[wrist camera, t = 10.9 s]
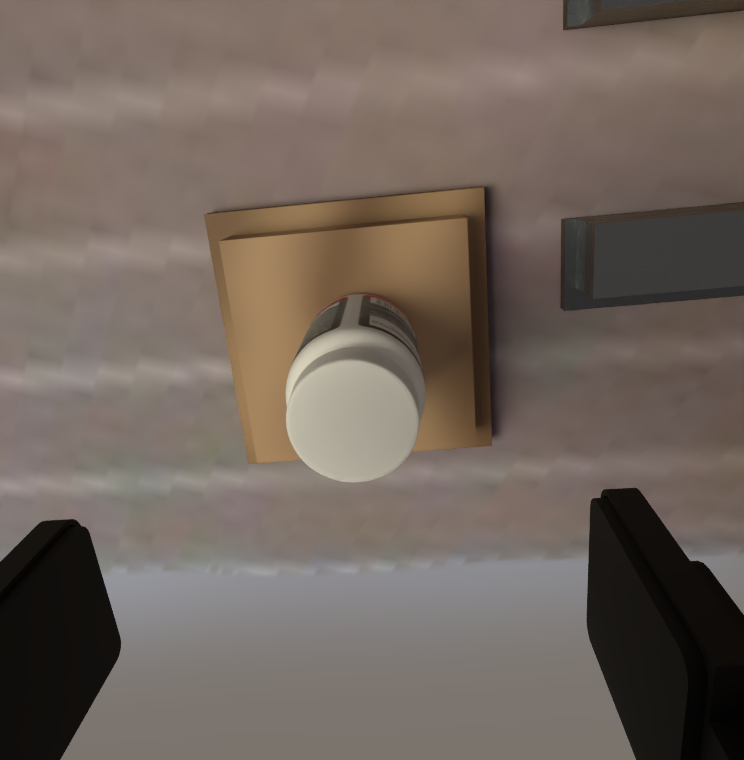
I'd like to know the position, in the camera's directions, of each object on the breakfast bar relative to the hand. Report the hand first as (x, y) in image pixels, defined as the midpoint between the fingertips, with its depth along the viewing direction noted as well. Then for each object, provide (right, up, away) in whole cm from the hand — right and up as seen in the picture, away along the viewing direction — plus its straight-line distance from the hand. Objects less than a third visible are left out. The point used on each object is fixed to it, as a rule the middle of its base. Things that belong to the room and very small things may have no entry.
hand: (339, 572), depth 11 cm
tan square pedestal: (0, +6, +18) cm, 18 cm away
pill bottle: (0, +5, +15) cm, 16 cm away
